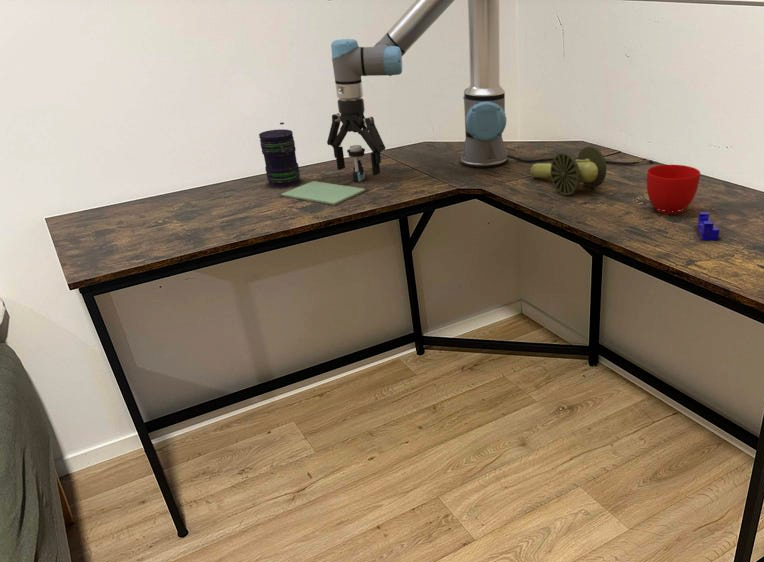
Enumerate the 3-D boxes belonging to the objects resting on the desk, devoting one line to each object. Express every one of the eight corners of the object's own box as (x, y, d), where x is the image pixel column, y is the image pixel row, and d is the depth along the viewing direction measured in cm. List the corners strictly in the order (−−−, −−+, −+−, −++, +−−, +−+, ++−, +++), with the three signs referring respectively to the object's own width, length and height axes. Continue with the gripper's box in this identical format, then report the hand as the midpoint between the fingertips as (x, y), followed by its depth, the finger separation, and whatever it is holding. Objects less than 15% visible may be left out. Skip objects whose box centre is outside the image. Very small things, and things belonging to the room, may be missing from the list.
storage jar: (261, 186, 204) (249, 125, 195) (281, 177, 212) (270, 118, 202) (288, 189, 201) (277, 127, 191) (307, 180, 208) (297, 119, 199)
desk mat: (365, 190, 197) (365, 188, 197) (334, 205, 187) (334, 203, 186) (313, 182, 206) (313, 180, 205) (281, 195, 195) (280, 193, 195)
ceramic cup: (701, 200, 180) (707, 163, 175) (690, 221, 167) (695, 181, 162) (653, 195, 185) (656, 158, 180) (638, 215, 172) (641, 176, 167)
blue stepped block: (717, 240, 156) (720, 223, 154) (702, 240, 156) (704, 223, 154) (712, 228, 162) (714, 212, 160) (697, 227, 163) (699, 212, 161)
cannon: (519, 181, 200) (519, 142, 194) (549, 173, 206) (550, 135, 200) (578, 200, 183) (580, 158, 177) (609, 191, 189) (612, 150, 183)
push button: (355, 175, 211) (351, 143, 206) (371, 176, 210) (368, 143, 205) (348, 182, 205) (344, 148, 200) (365, 182, 204) (361, 148, 199)
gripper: (308, 97, 198) (319, 169, 209) (377, 104, 187) (384, 179, 198) (325, 93, 203) (335, 163, 215) (392, 99, 193) (399, 173, 204)
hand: (358, 171), depth 206 cm, fingers open, 13 cm apart
